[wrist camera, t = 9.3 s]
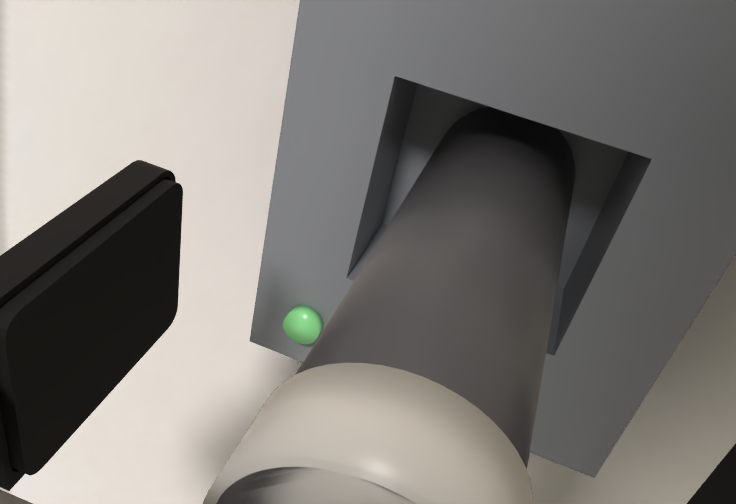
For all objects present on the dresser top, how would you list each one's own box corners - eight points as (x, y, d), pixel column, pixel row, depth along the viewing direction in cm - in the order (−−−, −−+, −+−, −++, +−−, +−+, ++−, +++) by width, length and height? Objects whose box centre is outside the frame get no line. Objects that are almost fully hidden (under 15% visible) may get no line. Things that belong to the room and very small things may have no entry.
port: (382, -138, 16) (311, -129, 13) (822, -16, 15) (884, 34, 11) (303, 268, 23) (243, 349, 19) (599, 379, 21) (593, 489, 18)
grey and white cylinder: (452, 78, 17) (213, 405, 7) (606, 129, 17) (570, 554, 7) (413, 210, 19) (191, 596, 10) (549, 258, 19) (458, 720, 9)
